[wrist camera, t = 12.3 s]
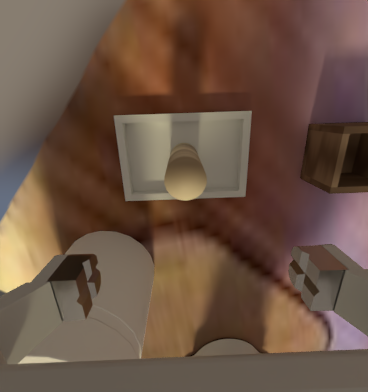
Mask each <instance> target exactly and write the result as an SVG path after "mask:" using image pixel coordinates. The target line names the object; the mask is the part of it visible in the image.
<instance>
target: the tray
mask: <svg viewBox="0 0 368 392" xmlns="http://www.w3.org/2000/svg"><path fill="white" fill-rule="evenodd" d="M251 116H252V111H232V112H203V113H173V114H143V115H114V122H115V129H116V136H117V144H118V151H119V158H120V165H121V172H122V180H123V187H124V194H125V201H143V200H170V199H176V198H174V197H173V196H171V195H170V194H169V192H168V191H167V189H166V187H165V184H164V177H165V173H166V169H167V165H168V161H169V158H170V154H171V151H172V149H173V148H174V147H175V146H176V145H178V144H180V143H188V144H190V145H192V146H193V147H194V148H195V149H196V151H197V153H198V156H199V158H200V161H201V163H202V165H203V168H204V170H205V173H206V176H207V184H206V187H205V189H204V191H203V192H202V193H201V195H199V196H198V197H197V198H195V199H198V198H225V197H245V196H246V183H247V170H248V156H249V143H250V130H251Z"/></svg>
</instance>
